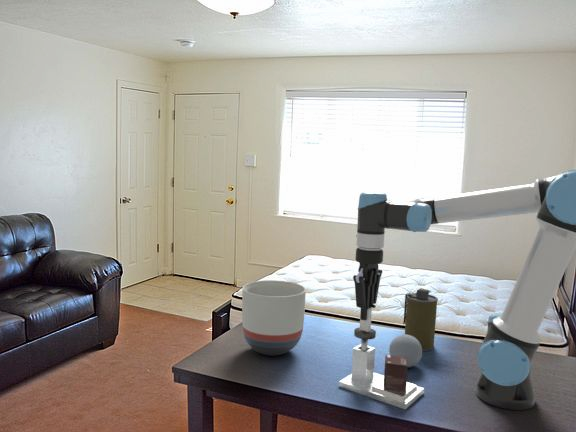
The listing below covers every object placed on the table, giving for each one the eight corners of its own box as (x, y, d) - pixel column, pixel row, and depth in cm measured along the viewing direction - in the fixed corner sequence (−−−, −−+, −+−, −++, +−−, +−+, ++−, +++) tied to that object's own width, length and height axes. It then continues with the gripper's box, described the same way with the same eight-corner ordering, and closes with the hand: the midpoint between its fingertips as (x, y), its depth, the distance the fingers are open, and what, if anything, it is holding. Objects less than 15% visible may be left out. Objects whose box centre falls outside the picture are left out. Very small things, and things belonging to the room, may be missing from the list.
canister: (438, 344, 179) (442, 289, 177) (429, 353, 170) (433, 295, 168) (408, 337, 185) (411, 284, 183) (397, 346, 176) (401, 289, 174)
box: (406, 392, 136) (408, 365, 135) (383, 389, 137) (384, 363, 136) (405, 382, 142) (407, 357, 141) (383, 379, 143) (385, 354, 142)
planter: (307, 343, 175) (309, 283, 173) (297, 367, 155) (300, 299, 153) (249, 338, 179) (251, 278, 176) (233, 360, 159) (235, 293, 156)
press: (423, 393, 141) (426, 357, 140) (405, 409, 132) (408, 370, 130) (360, 372, 153) (362, 339, 152) (339, 386, 144) (340, 350, 142)
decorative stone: (424, 364, 161) (426, 333, 160) (416, 375, 153) (418, 343, 152) (393, 357, 166) (395, 327, 165) (384, 368, 157) (386, 336, 156)
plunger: (376, 375, 146) (379, 330, 145) (366, 382, 142) (369, 336, 140) (358, 370, 150) (360, 325, 148) (348, 376, 145) (350, 331, 144)
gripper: (368, 243, 149) (364, 321, 152) (346, 248, 138) (341, 332, 141) (392, 247, 144) (387, 327, 147) (370, 252, 134) (365, 339, 137)
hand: (364, 330), depth 144 cm, fingers closed
